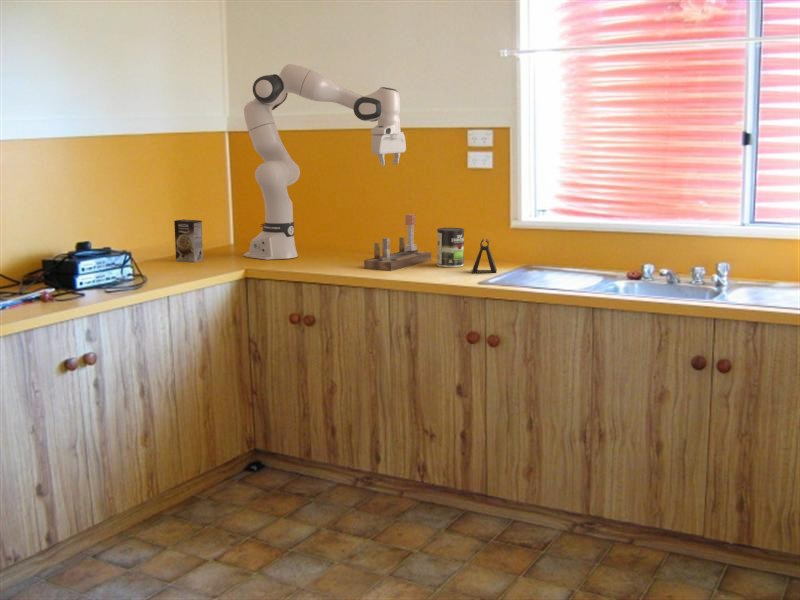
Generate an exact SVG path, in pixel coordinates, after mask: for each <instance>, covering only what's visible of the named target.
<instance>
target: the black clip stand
mask: <svg viewBox="0 0 800 600" xmlns="http://www.w3.org/2000/svg"><path fill="white" fill-rule="evenodd" d="M484 241H485V243H486V244H487V245H483V242H484ZM489 245H490V241H489V239H488V238H486V239H484V238H482V239H481V241H480V248H479V251H478V254H477V257H476V260H475V262H474V264H473V267H472V269H471V273H472V274H484V273H496V274H497V271H498V270H497V266H496V264H495V261H494V258H493V254H492V252H491V249H490V246H489ZM483 251H485V252H486V256H487V259H488V264H489V269H479V264H480V261H481V258H482V255H483Z"/></svg>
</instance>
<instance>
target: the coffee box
mask: <svg viewBox="0 0 800 600" xmlns="http://www.w3.org/2000/svg"><path fill="white" fill-rule="evenodd" d="M173 222H174V224H173V225H174V243H175V244H174V245H175V247H174V248H175V261H176V262H183V263H184V262H187V263H198V262H202V261H204V255H203V254H204V251H203V220H197V219H184V218H183V219H176V220H173Z"/></svg>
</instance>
